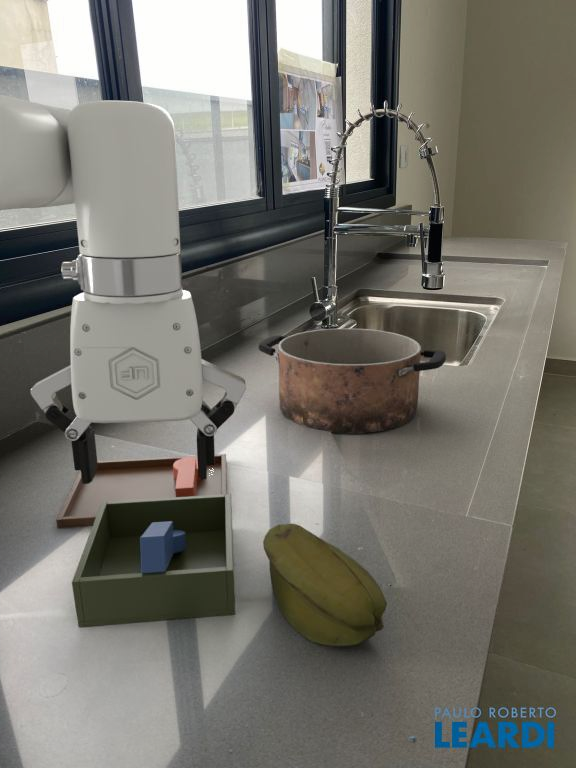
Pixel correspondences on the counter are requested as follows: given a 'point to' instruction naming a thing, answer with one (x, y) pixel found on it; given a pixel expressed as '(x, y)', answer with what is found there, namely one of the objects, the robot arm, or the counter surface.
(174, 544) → the blue block
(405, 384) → the cooking pot
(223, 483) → the tray
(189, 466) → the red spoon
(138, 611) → the bin
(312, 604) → the fruit
